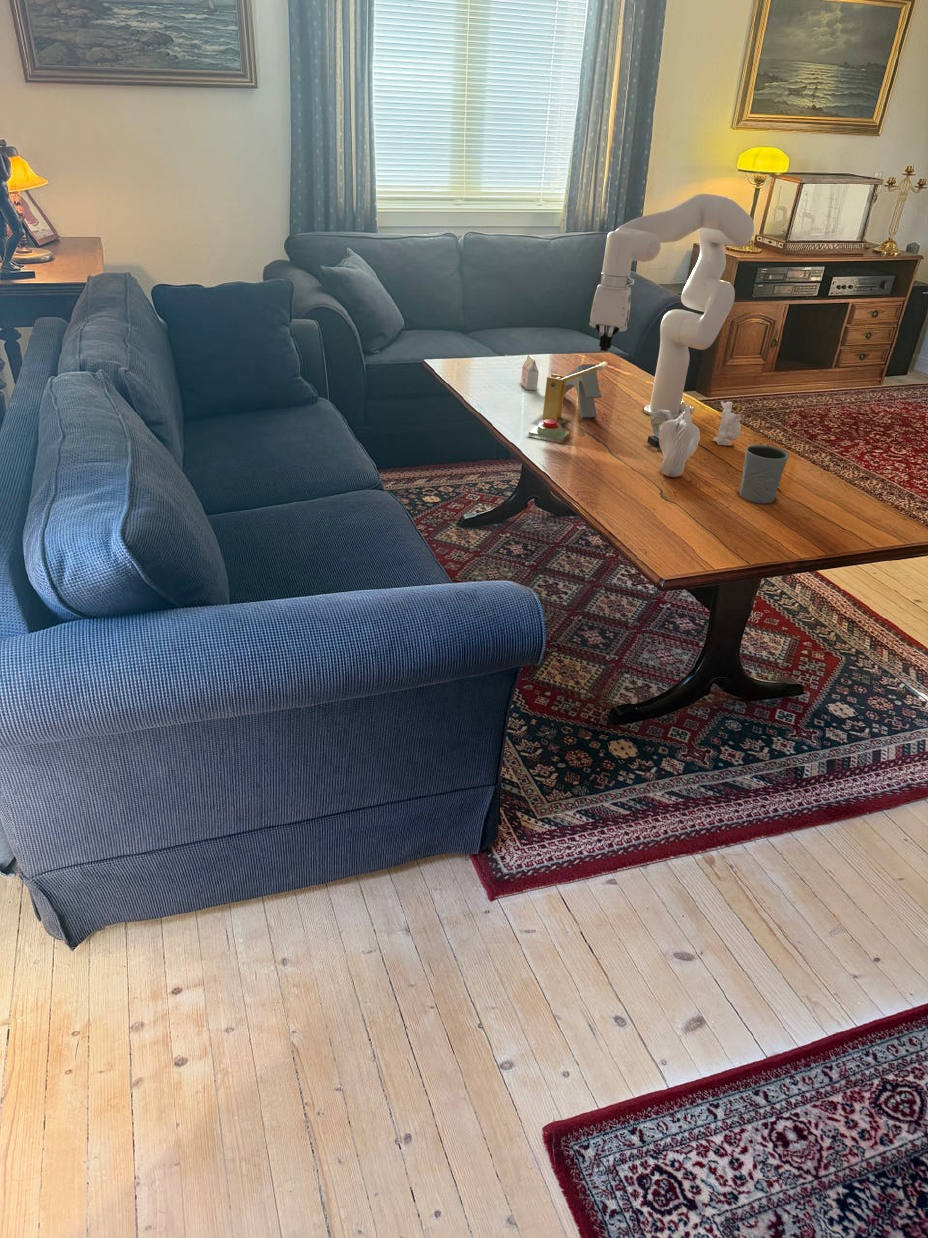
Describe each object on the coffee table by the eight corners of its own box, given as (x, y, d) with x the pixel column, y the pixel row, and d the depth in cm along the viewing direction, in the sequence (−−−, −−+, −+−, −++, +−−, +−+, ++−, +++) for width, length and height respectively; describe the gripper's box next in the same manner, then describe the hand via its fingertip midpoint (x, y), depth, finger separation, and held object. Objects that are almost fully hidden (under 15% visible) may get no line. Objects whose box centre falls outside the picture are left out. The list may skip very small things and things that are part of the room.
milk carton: (531, 384, 287) (534, 354, 282) (536, 389, 282) (539, 359, 277) (520, 384, 287) (523, 354, 281) (526, 389, 281) (529, 359, 276)
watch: (658, 442, 243) (665, 405, 237) (674, 452, 237) (682, 414, 231) (642, 444, 241) (649, 406, 235) (658, 453, 235) (665, 415, 229)
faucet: (549, 430, 277) (585, 418, 248) (546, 378, 275) (583, 360, 246) (566, 429, 279) (604, 417, 250) (564, 378, 277) (602, 360, 248)
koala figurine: (705, 439, 247) (713, 399, 241) (723, 437, 250) (732, 398, 244) (723, 449, 241) (732, 408, 235) (741, 447, 243) (751, 407, 237)
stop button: (558, 426, 240) (559, 420, 239) (554, 430, 237) (555, 424, 236) (545, 424, 241) (546, 418, 240) (541, 427, 238) (541, 421, 237)
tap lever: (608, 366, 241) (606, 358, 240) (603, 371, 237) (600, 362, 236) (556, 385, 250) (553, 378, 249) (550, 390, 246) (547, 382, 245)
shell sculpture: (670, 482, 216) (683, 414, 207) (650, 471, 222) (662, 404, 213) (694, 478, 220) (709, 411, 210) (674, 467, 226) (687, 402, 217)
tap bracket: (568, 420, 255) (574, 375, 248) (559, 428, 248) (564, 382, 241) (543, 415, 258) (548, 370, 251) (534, 423, 251) (538, 377, 244)
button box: (568, 437, 242) (570, 425, 240) (561, 444, 236) (562, 432, 235) (536, 431, 245) (537, 419, 243) (528, 437, 240) (529, 425, 238)
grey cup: (770, 508, 206) (782, 461, 200) (730, 497, 210) (741, 452, 204) (780, 495, 213) (792, 450, 207) (741, 485, 218) (752, 441, 211)
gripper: (644, 283, 228) (633, 351, 237) (592, 275, 232) (583, 343, 242) (638, 286, 222) (626, 356, 231) (584, 279, 226) (575, 348, 236)
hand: (604, 349), depth 237 cm, fingers closed
